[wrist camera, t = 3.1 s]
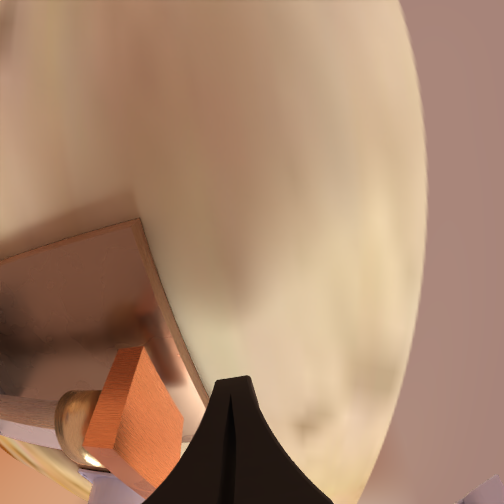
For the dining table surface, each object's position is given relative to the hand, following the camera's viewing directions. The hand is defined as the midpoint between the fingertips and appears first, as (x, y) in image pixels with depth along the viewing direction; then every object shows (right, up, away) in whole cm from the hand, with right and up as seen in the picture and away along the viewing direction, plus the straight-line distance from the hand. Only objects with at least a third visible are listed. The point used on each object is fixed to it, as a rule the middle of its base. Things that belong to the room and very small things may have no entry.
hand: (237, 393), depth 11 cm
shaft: (-13, -2, +1) cm, 13 cm away
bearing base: (-16, -2, +3) cm, 17 cm away
